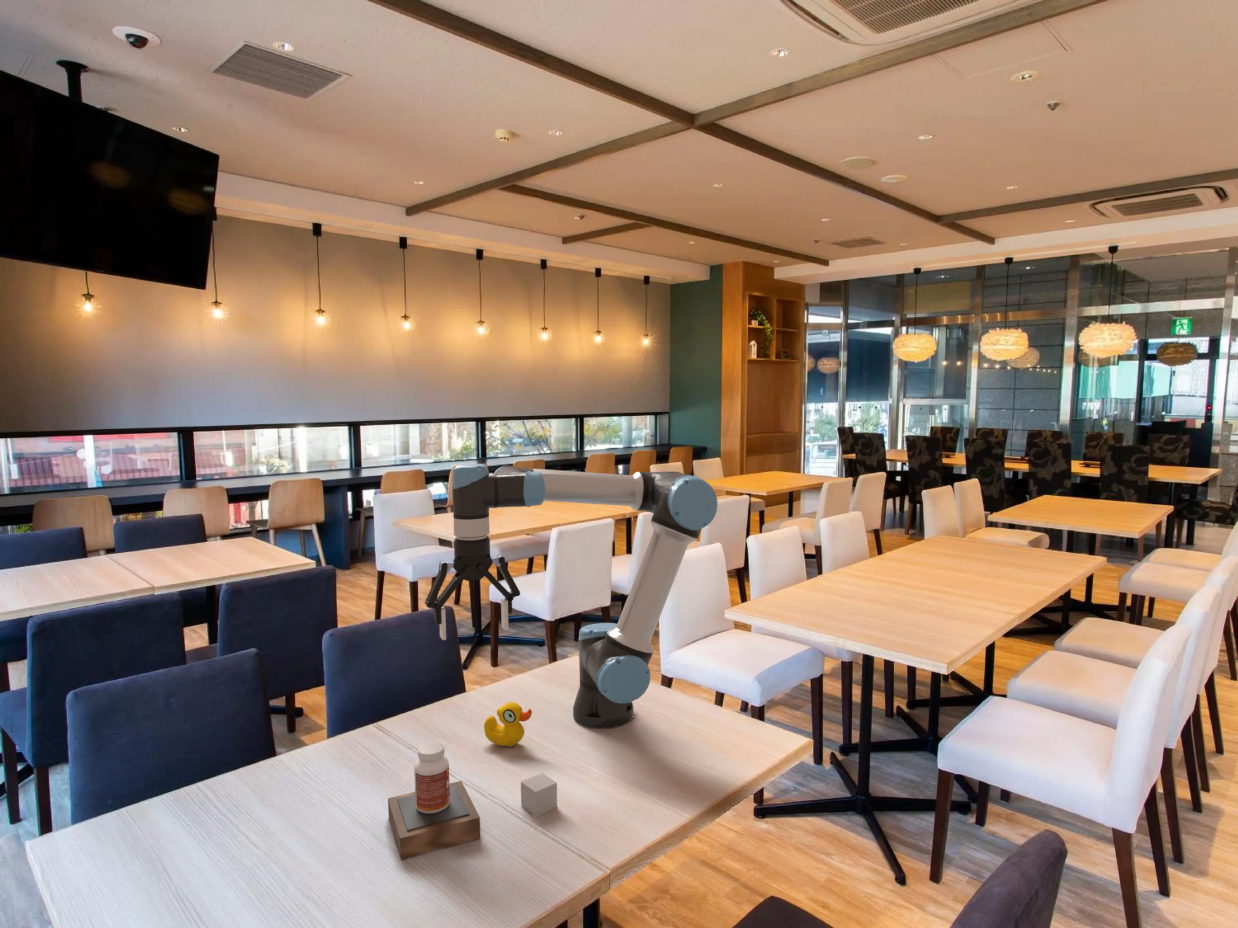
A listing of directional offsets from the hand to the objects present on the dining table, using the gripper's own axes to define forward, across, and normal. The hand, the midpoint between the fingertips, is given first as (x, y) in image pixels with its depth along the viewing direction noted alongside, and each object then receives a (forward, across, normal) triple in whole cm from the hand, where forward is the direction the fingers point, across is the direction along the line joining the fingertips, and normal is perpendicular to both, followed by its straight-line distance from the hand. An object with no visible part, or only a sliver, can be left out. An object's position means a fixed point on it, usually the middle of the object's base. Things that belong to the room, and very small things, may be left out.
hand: (474, 633), depth 156 cm
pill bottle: (+25, +14, +21) cm, 35 cm away
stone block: (+29, -6, +23) cm, 37 cm away
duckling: (+29, -8, -4) cm, 30 cm away
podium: (+29, +14, +21) cm, 38 cm away
